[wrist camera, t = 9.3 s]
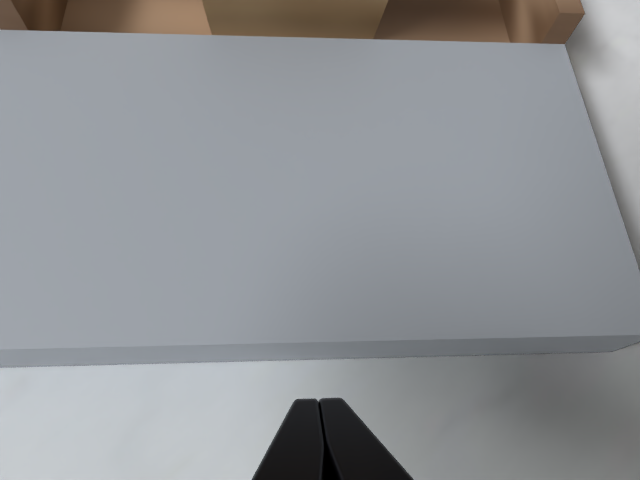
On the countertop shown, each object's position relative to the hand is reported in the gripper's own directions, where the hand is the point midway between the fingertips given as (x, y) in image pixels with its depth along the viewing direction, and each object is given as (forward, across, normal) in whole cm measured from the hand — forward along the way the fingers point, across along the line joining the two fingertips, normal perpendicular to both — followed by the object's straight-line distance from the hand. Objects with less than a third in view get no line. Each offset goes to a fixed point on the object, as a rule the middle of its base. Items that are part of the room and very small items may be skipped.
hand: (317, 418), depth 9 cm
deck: (+11, 0, -1) cm, 11 cm away
